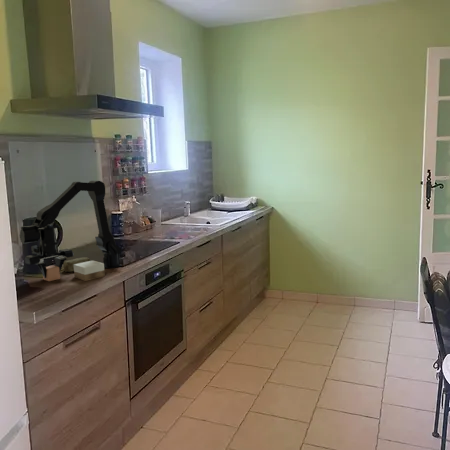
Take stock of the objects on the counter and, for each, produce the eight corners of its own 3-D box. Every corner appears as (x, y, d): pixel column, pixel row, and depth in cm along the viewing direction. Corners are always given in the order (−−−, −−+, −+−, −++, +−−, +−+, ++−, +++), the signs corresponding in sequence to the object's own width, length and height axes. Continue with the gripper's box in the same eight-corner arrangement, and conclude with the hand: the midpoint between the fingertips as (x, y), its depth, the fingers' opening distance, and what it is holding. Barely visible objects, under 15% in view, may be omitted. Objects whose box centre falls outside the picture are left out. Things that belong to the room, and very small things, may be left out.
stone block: (91, 268, 211) (90, 257, 211) (68, 273, 203) (67, 262, 202) (84, 266, 215) (83, 256, 214) (62, 271, 207) (60, 261, 206)
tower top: (93, 267, 201) (92, 260, 201) (104, 270, 195) (103, 263, 195) (74, 271, 195) (73, 264, 195) (84, 274, 189) (84, 267, 188)
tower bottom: (93, 273, 202) (93, 267, 201) (104, 277, 196) (104, 270, 195) (74, 278, 196) (74, 271, 195) (85, 281, 189) (84, 274, 189)
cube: (54, 276, 198) (53, 265, 197) (60, 278, 194) (59, 267, 193) (43, 279, 194) (42, 267, 193) (48, 281, 191) (47, 269, 190)
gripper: (60, 234, 204) (63, 269, 206) (17, 241, 191) (21, 278, 193) (72, 237, 196) (75, 273, 198) (28, 244, 183) (32, 282, 185)
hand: (51, 276), depth 194 cm, fingers closed on cube, 5 cm apart
